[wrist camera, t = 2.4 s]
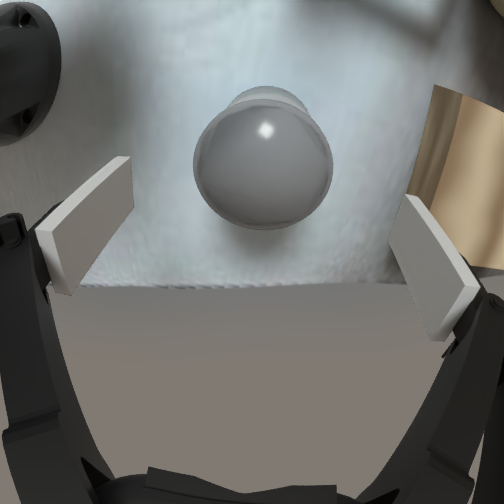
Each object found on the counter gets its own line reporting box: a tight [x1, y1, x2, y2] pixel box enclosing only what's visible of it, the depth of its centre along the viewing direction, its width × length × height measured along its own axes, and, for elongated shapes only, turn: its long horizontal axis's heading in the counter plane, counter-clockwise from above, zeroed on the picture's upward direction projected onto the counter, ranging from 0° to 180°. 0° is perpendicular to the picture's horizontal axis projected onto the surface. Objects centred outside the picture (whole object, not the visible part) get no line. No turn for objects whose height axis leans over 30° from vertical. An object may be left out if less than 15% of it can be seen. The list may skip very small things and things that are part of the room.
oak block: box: [406, 84, 504, 270], centre depth 22 cm, size 14×14×5 cm
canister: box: [193, 86, 333, 230], centre depth 20 cm, size 7×7×9 cm
